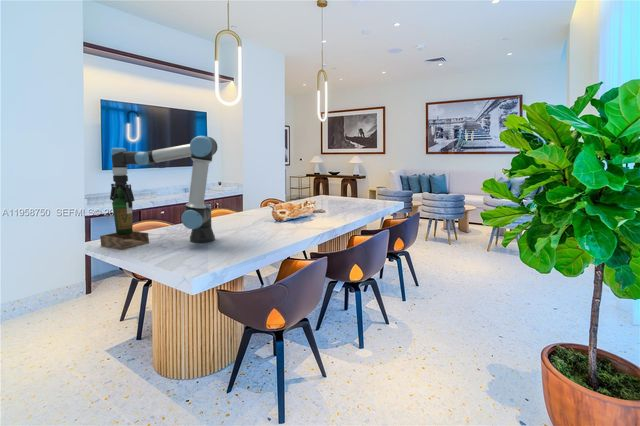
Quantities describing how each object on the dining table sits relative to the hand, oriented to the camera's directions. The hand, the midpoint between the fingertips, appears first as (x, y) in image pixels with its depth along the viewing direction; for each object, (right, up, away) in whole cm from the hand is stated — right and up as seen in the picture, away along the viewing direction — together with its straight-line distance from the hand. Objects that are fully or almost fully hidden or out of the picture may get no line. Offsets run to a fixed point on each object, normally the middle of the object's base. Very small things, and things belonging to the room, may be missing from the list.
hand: (123, 212), depth 215 cm
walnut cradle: (0, -19, +3) cm, 19 cm away
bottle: (0, -13, +2) cm, 13 cm away
